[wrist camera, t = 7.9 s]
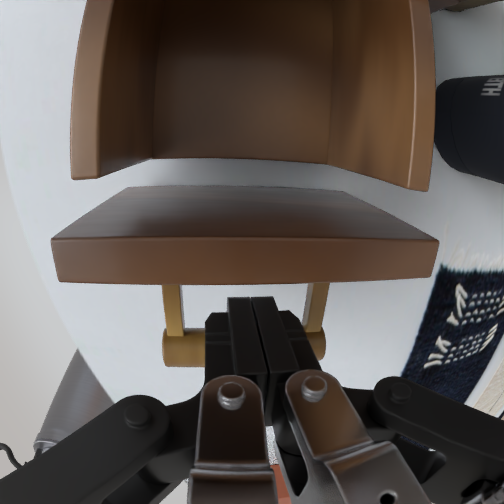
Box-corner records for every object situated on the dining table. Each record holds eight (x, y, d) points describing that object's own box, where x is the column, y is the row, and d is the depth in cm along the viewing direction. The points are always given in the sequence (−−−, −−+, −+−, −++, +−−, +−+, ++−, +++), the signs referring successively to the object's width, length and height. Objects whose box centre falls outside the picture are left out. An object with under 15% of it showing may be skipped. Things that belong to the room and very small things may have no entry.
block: (264, 479, 26) (270, 509, 22) (267, 465, 25) (274, 499, 21) (301, 474, 27) (309, 503, 23) (308, 459, 25) (317, 491, 21)
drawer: (327, 297, 16) (388, 389, 9) (137, 299, 15) (100, 405, 8) (349, -8, 10) (429, -68, 3) (145, -25, 8) (108, -110, 2)
